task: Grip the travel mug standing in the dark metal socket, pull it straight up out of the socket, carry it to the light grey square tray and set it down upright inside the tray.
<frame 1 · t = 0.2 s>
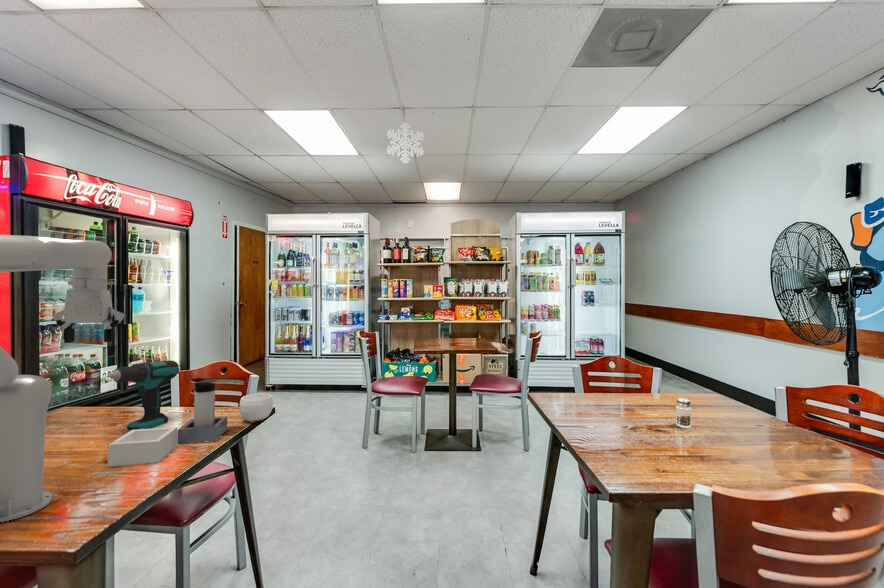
hand: (89, 342, 112), 37 cm above the table, tool pointing down, fingers open, 9 cm apart
cup: (256, 420, 154), on the table
socket block: (203, 436, 135), on the table
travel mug: (203, 437, 135), resting in socket block
power drill: (142, 427, 144), on the table
light grey square tray: (144, 455, 119), on the table
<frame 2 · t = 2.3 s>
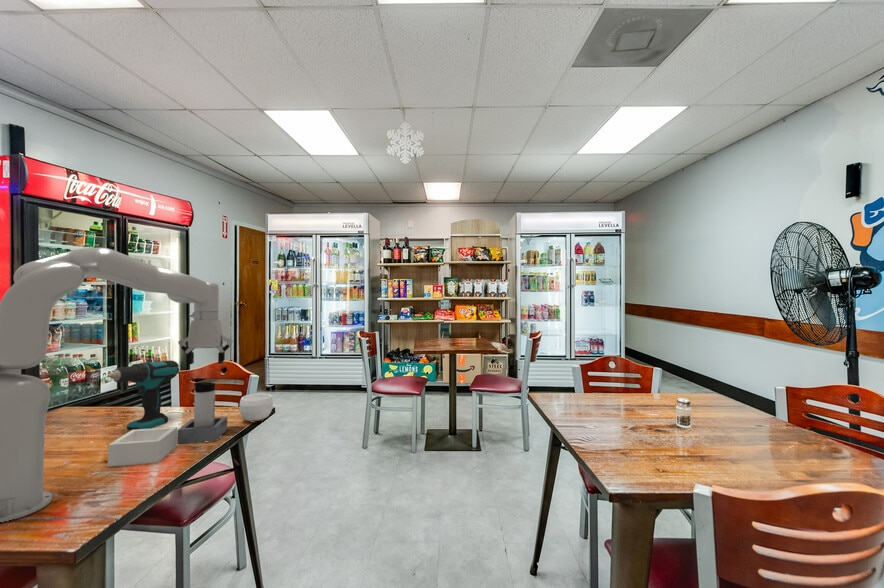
hand: (205, 363, 136), 26 cm above the table, tool pointing down, fingers open, 9 cm apart
nothing on the table moved.
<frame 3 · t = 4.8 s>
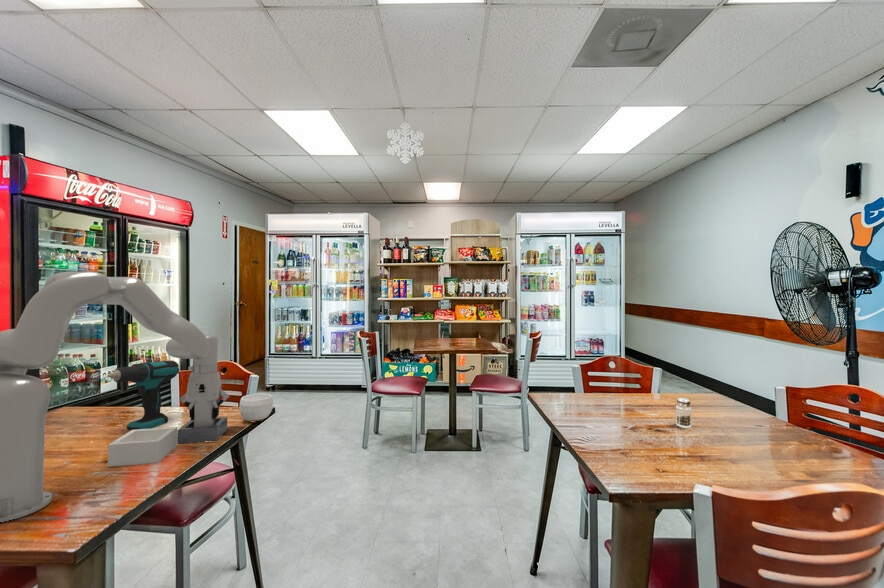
hand: (204, 418, 135), 7 cm above the table, tool pointing down, fingers closed on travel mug, 6 cm apart
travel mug: (203, 437, 135), resting in socket block, touching gripper
everything else where it was.
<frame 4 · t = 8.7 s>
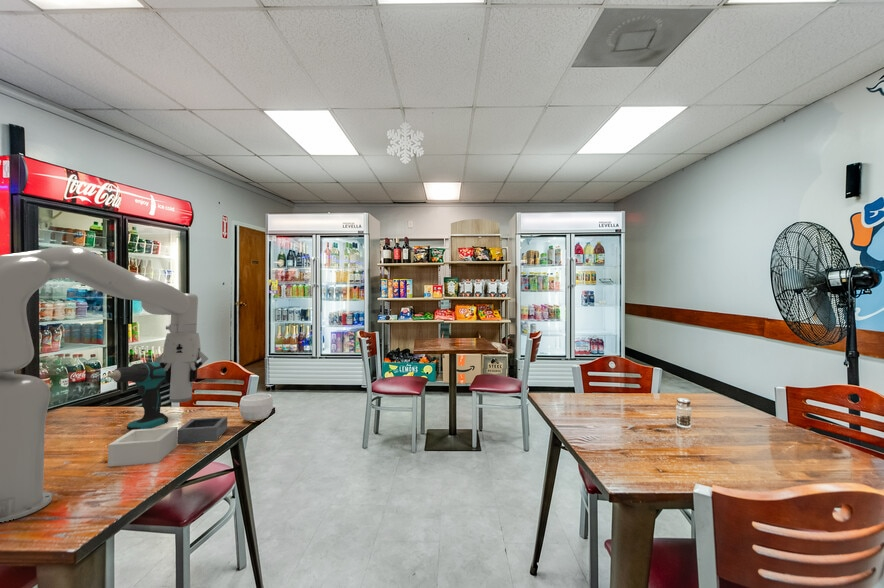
hand: (181, 381, 128), 22 cm above the table, tool pointing down, fingers closed on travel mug, 6 cm apart
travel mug: (180, 401, 128), point 15 cm above the table, touching gripper
everything else where it was.
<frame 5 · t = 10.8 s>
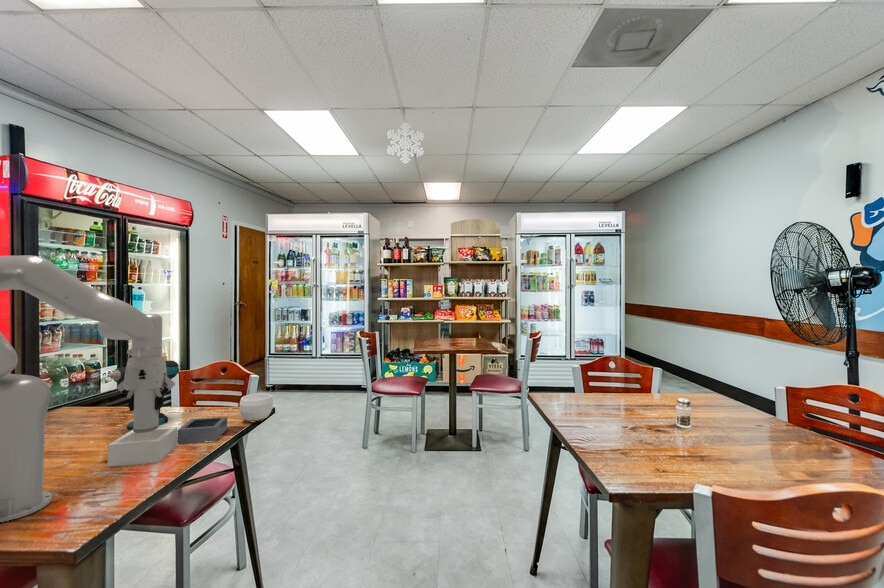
hand: (146, 408, 119), 15 cm above the table, tool pointing down, fingers closed on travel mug, 6 cm apart
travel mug: (145, 430, 119), point 8 cm above the table, touching gripper
everything else where it was.
when the fingers open (11 cm above the table, at t = 12.4 s): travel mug drops 2 cm, resting on light grey square tray.
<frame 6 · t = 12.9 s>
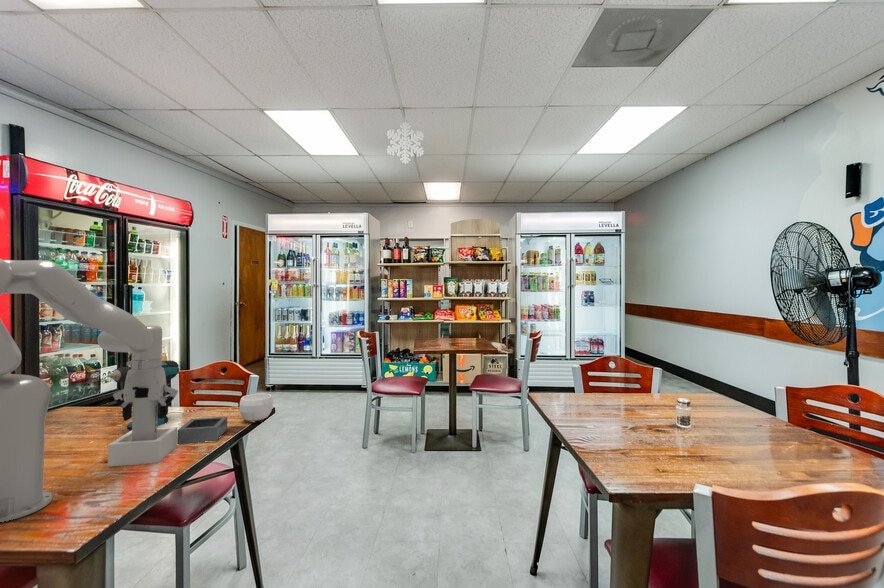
hand: (145, 418, 119), 12 cm above the table, tool pointing down, fingers open, 9 cm apart
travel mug: (143, 448, 118), point 2 cm above the table, touching light grey square tray
everything else where it was.
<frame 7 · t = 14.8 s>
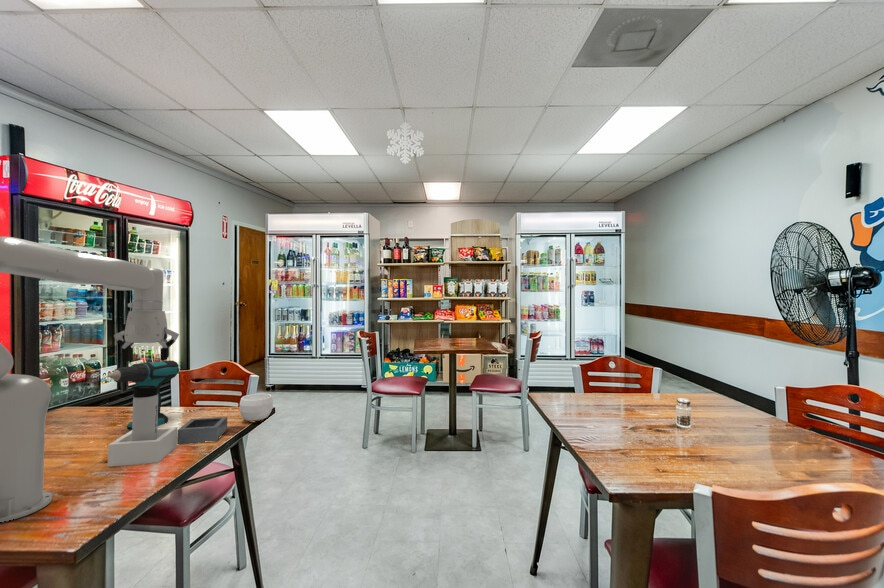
hand: (146, 360, 119), 30 cm above the table, tool pointing down, fingers open, 9 cm apart
nothing on the table moved.
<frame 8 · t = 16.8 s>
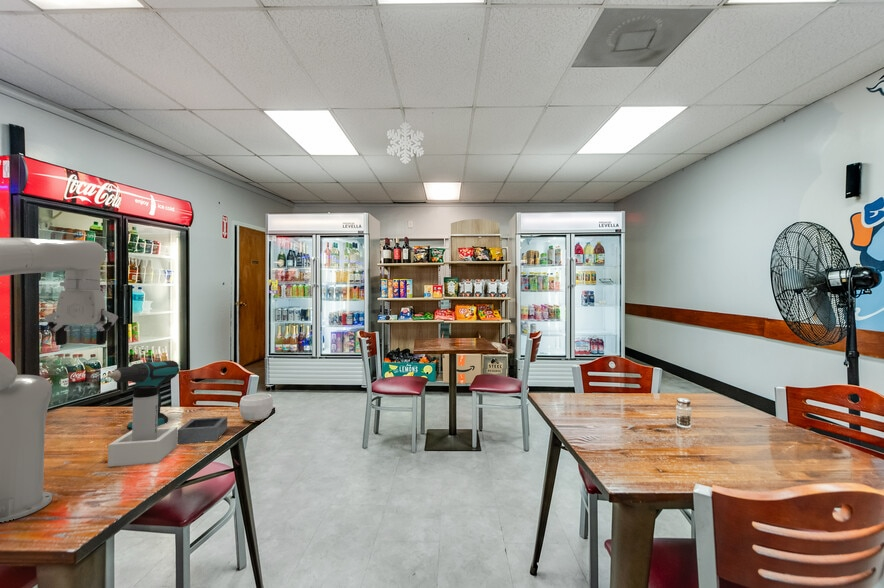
hand: (81, 344, 110), 36 cm above the table, tool pointing down, fingers open, 9 cm apart
nothing on the table moved.
at the end: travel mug 0.3 cm off-centre on the light grey square tray, point 2.3 cm above the light grey square tray's base; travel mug tilted 0°; the gripper is holding nothing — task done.
